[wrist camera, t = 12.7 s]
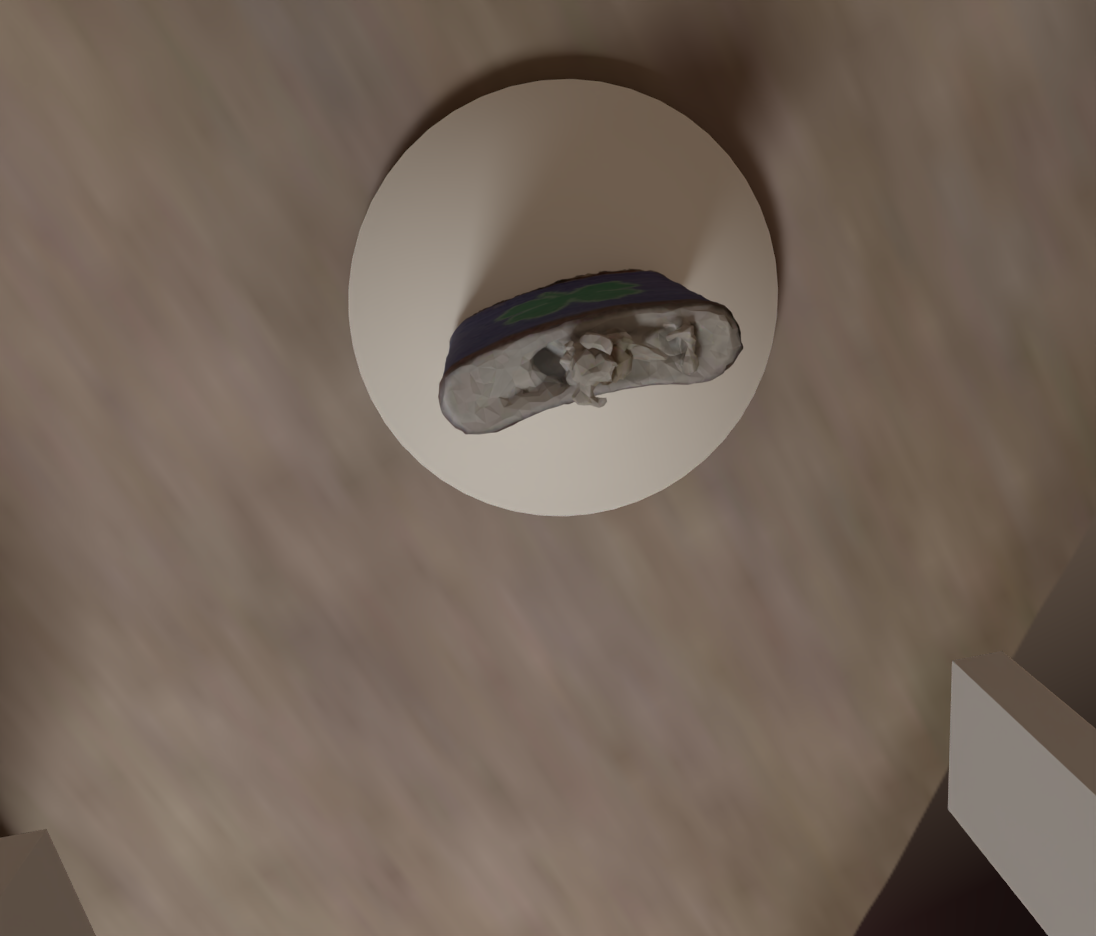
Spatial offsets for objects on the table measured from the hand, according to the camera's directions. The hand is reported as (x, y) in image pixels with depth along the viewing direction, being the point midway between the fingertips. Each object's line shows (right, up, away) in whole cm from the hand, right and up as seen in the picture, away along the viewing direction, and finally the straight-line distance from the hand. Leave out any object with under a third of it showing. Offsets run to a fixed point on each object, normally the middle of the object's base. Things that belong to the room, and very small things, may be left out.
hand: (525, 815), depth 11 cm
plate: (+1, +11, +20) cm, 23 cm away
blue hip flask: (+1, +11, +19) cm, 22 cm away
